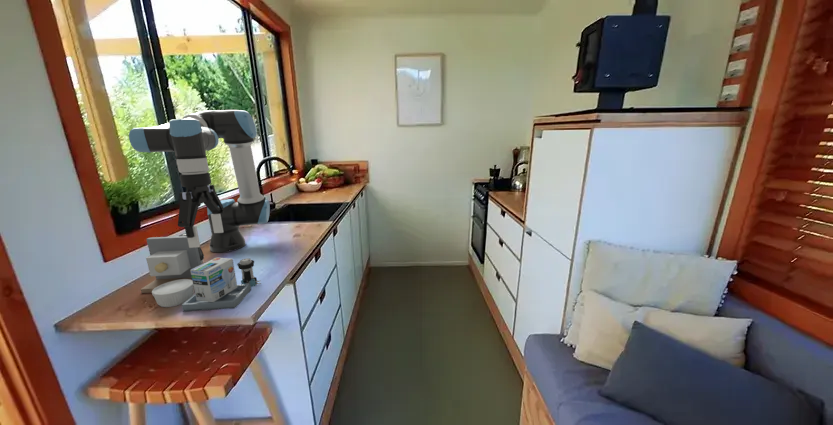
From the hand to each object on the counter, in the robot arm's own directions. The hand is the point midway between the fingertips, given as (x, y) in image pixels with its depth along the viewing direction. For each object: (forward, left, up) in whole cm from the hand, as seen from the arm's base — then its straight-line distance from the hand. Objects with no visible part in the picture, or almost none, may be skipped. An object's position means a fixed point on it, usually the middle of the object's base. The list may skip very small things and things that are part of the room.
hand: (207, 239), depth 99 cm
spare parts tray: (0, 0, -21) cm, 21 cm away
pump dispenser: (-28, -25, -22) cm, 44 cm away
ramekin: (-2, -15, -22) cm, 26 cm away
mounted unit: (-13, -22, -21) cm, 34 cm away
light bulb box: (0, 0, -19) cm, 19 cm away
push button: (-9, +7, -22) cm, 24 cm away
